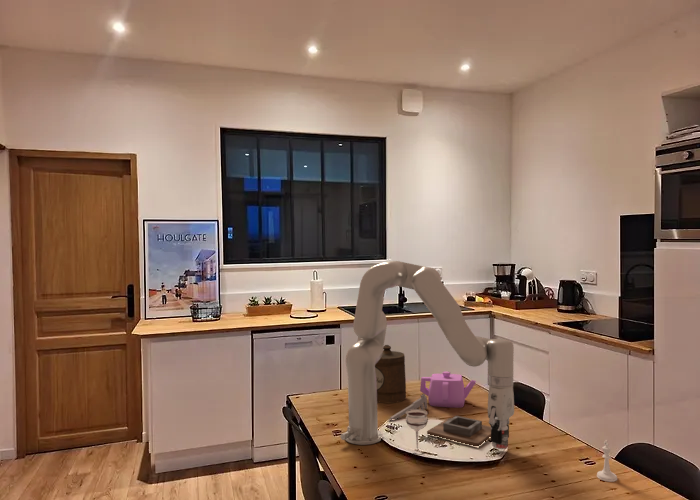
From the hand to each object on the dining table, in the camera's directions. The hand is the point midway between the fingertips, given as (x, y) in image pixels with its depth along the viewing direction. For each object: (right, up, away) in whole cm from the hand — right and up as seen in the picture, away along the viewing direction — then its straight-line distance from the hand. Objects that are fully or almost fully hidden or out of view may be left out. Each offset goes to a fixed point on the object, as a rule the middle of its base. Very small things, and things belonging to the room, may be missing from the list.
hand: (500, 439), depth 154 cm
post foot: (-8, -4, +14) cm, 17 cm away
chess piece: (+23, -4, -18) cm, 30 cm away
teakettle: (-6, -4, +49) cm, 49 cm away
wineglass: (-25, -4, +1) cm, 25 cm away
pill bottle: (0, -2, 0) cm, 2 cm away
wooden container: (-30, -4, +56) cm, 64 cm away
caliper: (-24, -4, +35) cm, 42 cm away
